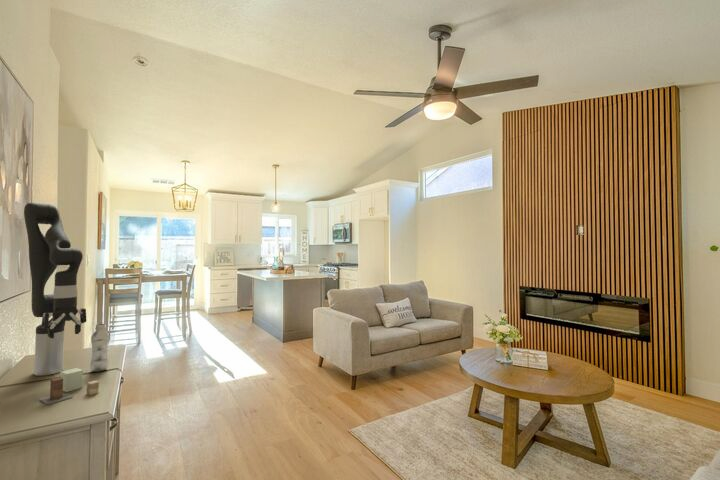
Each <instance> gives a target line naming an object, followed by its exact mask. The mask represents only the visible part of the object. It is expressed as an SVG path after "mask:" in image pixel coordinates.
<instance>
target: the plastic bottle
mask: <svg viewBox="0 0 720 480" xmlns="http://www.w3.org/2000/svg"><path fill="white" fill-rule="evenodd" d="M94 330H95V331H94V332H93V334H92V335H91V336H90V343H91V352H92V353H91V360H90V363H89V369H90V371H91V372H94V373H97V372H102V371H105V370H107V369H108V367H109V363H110V362H109V359H108V347H109V339H110V334H109V333H108V331H107V324H106V323H98V324H95V329H94Z"/></svg>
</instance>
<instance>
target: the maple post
mask: <svg viewBox="0 0 720 480" xmlns="http://www.w3.org/2000/svg"><path fill="white" fill-rule="evenodd" d="M99 384H100V382H99V381H98V380H92V381H88V382H86V394H87V395H89V396H92V395H95V394H99V389H100V388H99V387H100V385H99Z"/></svg>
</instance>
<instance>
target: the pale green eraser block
mask: <svg viewBox="0 0 720 480" xmlns="http://www.w3.org/2000/svg"><path fill="white" fill-rule="evenodd" d="M59 377H61V378H63V393H67V392H71V391H75V390H78V389H82V388H83V387H84V386H83V385H84V384H83V383H84V382H83V381H84V379H83V377H84V370H83V369H80V368H78V367H75V368H69V369H65V370H62V371H60V372H59Z"/></svg>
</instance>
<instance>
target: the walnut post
mask: <svg viewBox="0 0 720 480" xmlns="http://www.w3.org/2000/svg"><path fill="white" fill-rule="evenodd" d="M73 398H74V397H73V396H72V395H70V394H68V393H67V392H64V391H63V378H61V377H60V376H59V377H55V378H52V379H50V389H49V396H45V397H42V398H39V400H38V401H39V402H41V403H43V404H45V405H47V406H49V405H50V406H51V405H52V404H56V403H60V402H62V401H65V400H70V399H73Z"/></svg>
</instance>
